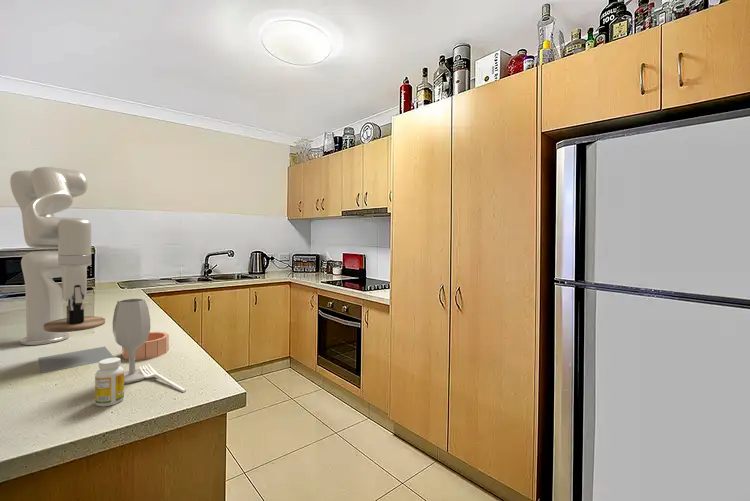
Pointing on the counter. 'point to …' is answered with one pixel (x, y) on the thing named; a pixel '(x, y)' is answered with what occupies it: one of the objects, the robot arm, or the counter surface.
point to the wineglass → (131, 331)
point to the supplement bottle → (109, 382)
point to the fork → (159, 377)
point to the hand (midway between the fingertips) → (75, 321)
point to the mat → (73, 359)
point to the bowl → (151, 346)
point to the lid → (65, 326)
